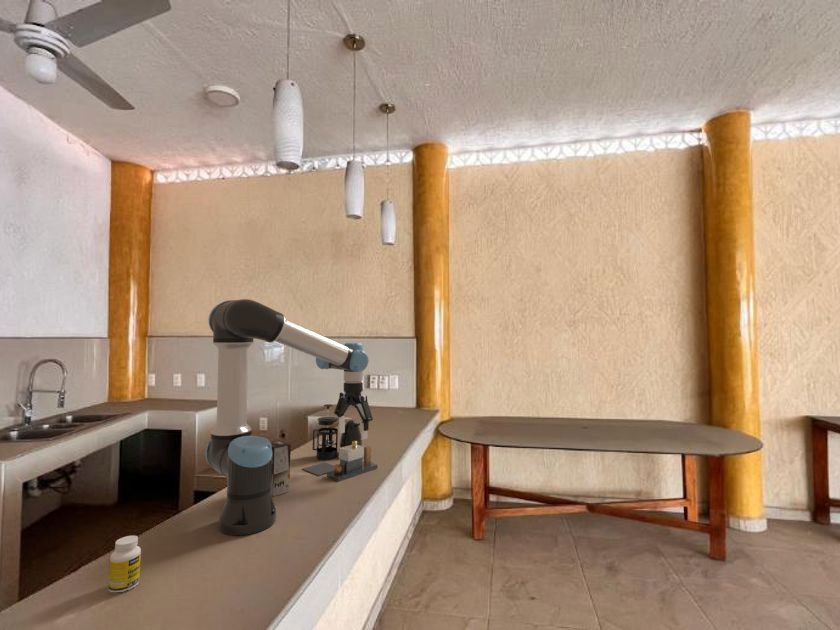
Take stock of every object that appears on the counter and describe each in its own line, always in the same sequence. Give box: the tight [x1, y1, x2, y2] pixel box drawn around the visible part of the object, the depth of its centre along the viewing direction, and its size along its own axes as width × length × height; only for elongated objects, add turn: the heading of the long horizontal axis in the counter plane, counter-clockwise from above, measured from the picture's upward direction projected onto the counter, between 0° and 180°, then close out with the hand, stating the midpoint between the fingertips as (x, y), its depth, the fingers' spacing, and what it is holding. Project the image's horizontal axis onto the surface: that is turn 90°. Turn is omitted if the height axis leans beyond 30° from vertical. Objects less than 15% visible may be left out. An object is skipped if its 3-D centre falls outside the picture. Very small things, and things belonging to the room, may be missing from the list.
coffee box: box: [270, 439, 292, 497], centre depth 141 cm, size 9×6×16 cm
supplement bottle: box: [107, 535, 142, 593], centre depth 87 cm, size 5×5×10 cm
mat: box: [301, 461, 335, 477], centre depth 163 cm, size 11×11×1 cm
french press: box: [312, 404, 339, 461], centre depth 180 cm, size 12×9×23 cm
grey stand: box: [326, 445, 379, 483], centre depth 160 cm, size 20×7×8 cm, turn 140°
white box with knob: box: [338, 441, 365, 462], centre depth 159 cm, size 8×6×6 cm
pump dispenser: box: [339, 419, 363, 448], centre depth 185 cm, size 10×10×15 cm
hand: (352, 435), depth 160 cm, fingers open, 13 cm apart
